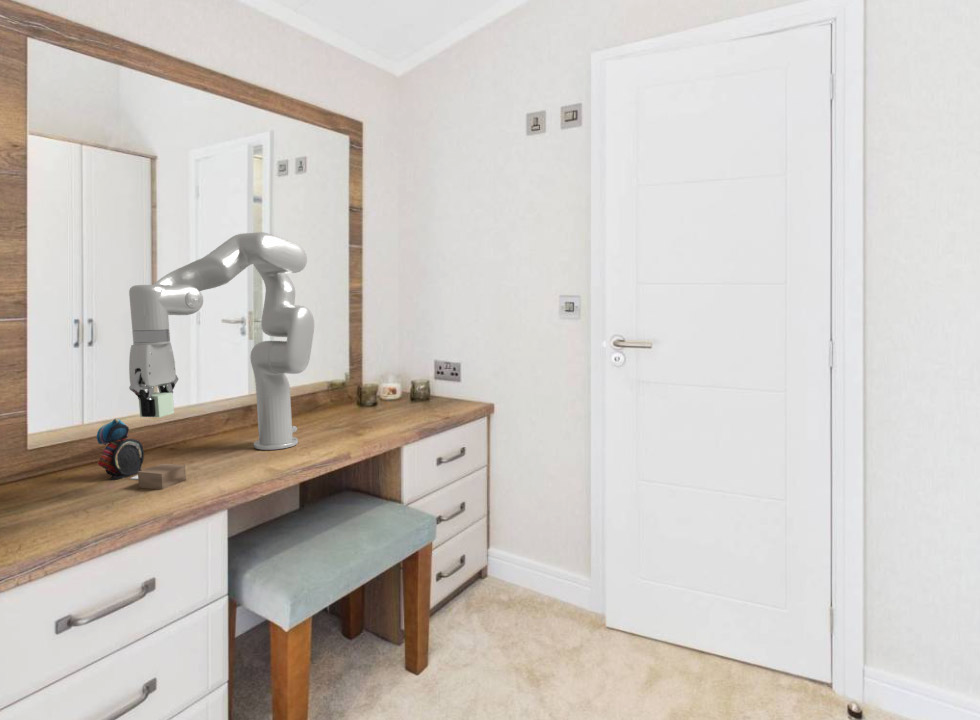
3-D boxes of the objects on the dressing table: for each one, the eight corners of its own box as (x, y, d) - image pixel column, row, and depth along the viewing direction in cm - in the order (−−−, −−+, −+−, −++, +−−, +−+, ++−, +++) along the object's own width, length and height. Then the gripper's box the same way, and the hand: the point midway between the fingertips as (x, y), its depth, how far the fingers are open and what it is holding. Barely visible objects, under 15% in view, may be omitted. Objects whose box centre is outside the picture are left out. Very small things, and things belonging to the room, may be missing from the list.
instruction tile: (153, 469, 150) (153, 468, 150) (171, 470, 149) (170, 468, 149) (130, 479, 142) (130, 477, 142) (148, 480, 141) (148, 478, 141)
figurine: (131, 468, 152) (126, 412, 150) (149, 470, 149) (145, 414, 147) (92, 479, 142) (87, 420, 141) (111, 482, 140) (106, 422, 138)
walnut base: (163, 478, 143) (162, 463, 142) (186, 481, 141) (184, 465, 140) (139, 488, 136) (137, 471, 136) (162, 490, 134) (161, 473, 134)
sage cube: (155, 412, 139) (154, 392, 139) (174, 413, 139) (172, 392, 138) (140, 417, 134) (138, 396, 134) (159, 417, 134) (157, 396, 133)
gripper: (162, 335, 143) (168, 406, 145) (108, 340, 127) (115, 421, 129) (190, 335, 142) (195, 407, 144) (138, 340, 126) (145, 421, 128)
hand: (157, 413), depth 136 cm, fingers closed on sage cube, 5 cm apart
